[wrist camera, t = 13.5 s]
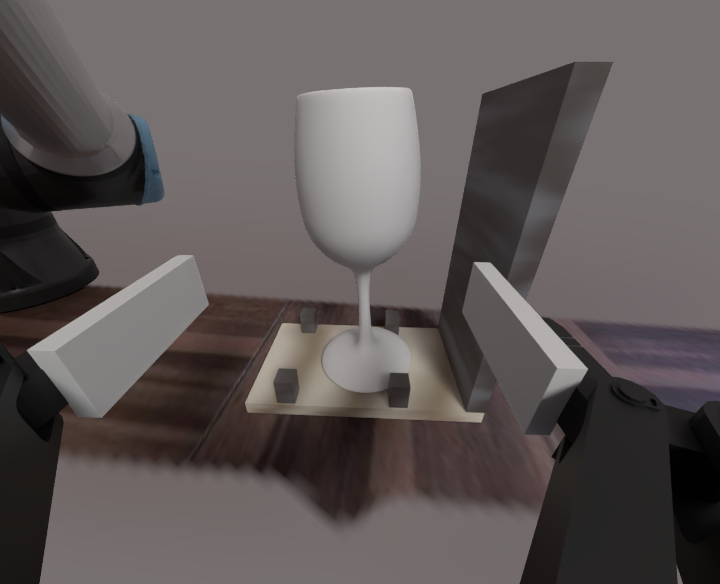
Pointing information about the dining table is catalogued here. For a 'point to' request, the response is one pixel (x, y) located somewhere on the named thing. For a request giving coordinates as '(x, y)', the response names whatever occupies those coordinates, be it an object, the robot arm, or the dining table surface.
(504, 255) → the pegged display stand
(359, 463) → the dining table surface
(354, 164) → the wineglass
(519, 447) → the dining table surface
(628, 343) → the dining table surface
